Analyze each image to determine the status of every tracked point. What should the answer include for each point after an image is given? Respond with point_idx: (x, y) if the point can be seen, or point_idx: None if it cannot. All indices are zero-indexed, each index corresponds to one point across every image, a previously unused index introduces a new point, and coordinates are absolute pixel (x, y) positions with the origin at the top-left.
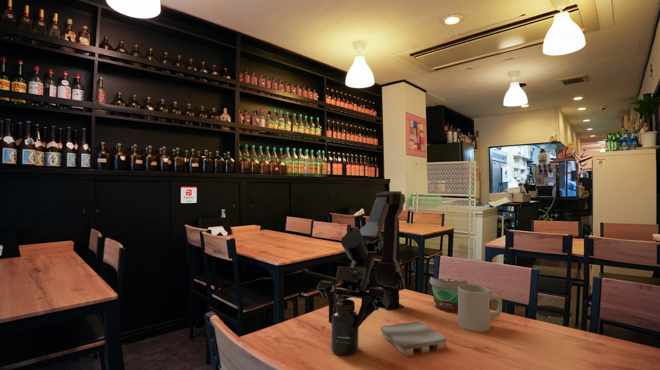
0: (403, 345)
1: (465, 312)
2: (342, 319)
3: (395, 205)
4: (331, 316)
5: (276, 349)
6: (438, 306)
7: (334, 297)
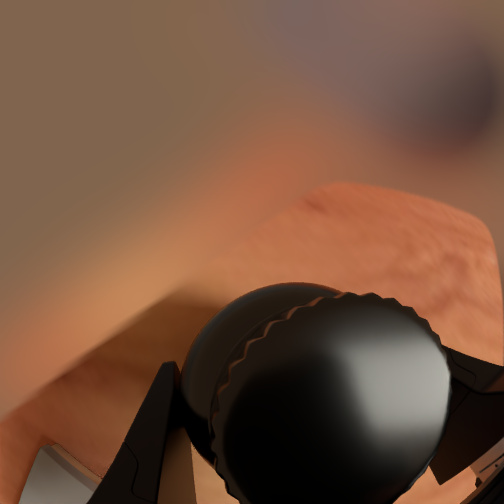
0: (44, 451)
1: None
2: (250, 297)
3: None
4: None
5: (418, 219)
6: None
7: (493, 414)
